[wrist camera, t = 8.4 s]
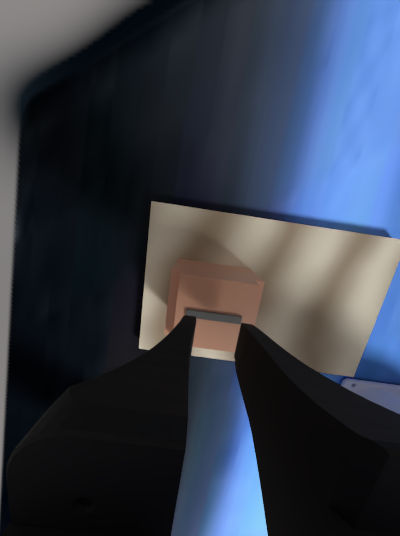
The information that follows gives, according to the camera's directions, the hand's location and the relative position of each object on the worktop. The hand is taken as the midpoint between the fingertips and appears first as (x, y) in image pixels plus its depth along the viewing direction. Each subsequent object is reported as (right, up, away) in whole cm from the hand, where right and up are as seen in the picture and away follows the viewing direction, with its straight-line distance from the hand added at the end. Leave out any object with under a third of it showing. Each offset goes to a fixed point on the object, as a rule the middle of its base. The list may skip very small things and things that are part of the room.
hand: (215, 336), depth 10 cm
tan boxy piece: (0, +2, +7) cm, 7 cm away
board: (+5, +1, +8) cm, 10 cm away
